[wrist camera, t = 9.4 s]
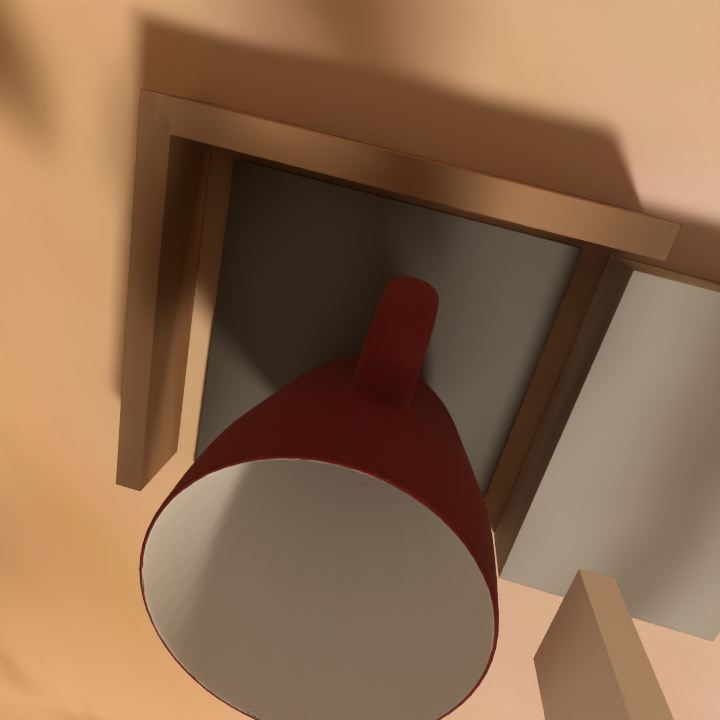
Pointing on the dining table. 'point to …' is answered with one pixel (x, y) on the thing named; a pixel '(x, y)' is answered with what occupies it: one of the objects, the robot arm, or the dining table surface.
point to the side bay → (442, 339)
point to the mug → (333, 544)
